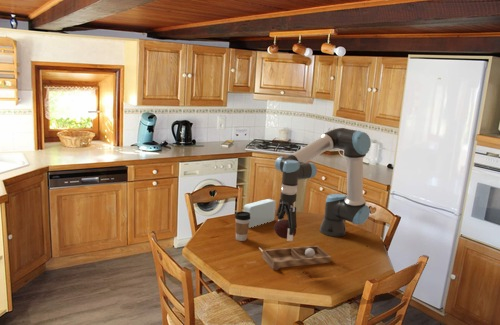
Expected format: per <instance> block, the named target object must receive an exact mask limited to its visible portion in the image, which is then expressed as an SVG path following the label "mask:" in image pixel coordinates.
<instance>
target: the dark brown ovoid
mask: <svg viewBox="0 0 500 325" xmlns="http://www.w3.org/2000/svg"><path fill="white" fill-rule="evenodd" d="M282 219H283V220H280V221H278V220H277V221H276V222H275V223H274V225H273V229H274V232H275V233H276V235H277V236H278V237H279V238H281V239H286V240H287V233H288V227H289V223H288V219H285V218H282ZM296 233H297V228H294V232H293V238H294V237H295V236H296Z"/></svg>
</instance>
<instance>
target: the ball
mask: <svg viewBox="0 0 500 325" xmlns="http://www.w3.org/2000/svg"><path fill="white" fill-rule="evenodd" d="M305 255H306V257H308V258H313V257H314V255H315V251H314V250H313V249H312V248H308V249H306V251H305Z"/></svg>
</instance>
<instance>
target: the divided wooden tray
mask: <svg viewBox="0 0 500 325" xmlns="http://www.w3.org/2000/svg"><path fill="white" fill-rule="evenodd" d="M308 248H312V249H313V250H314V251H315V255H314V257H313V258H308V257H306V255H305V251H306V249H308ZM262 250H263V253H262V252H261V253H262V254H261V259H263V261H264V262H265V263H266V264H267V265H268V266H269V267H270V268H271V270H272V271H276V270H281V268H288V267H289V268H290V267H297V266H298V267H299V266H309V265H317V264H327V263H328V264H329V263H331V260H332V257H331V255H330V254H328V253H327V252H326V251H325V250H324V249H322V248H321V247H320V246H319V245H308V246H298V247H296V246H295V247H284V248H282V247H281V248H273V249H262Z"/></svg>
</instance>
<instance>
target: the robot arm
mask: <svg viewBox="0 0 500 325" xmlns="http://www.w3.org/2000/svg"><path fill="white" fill-rule="evenodd" d="M371 143H372V142H371V138H370V136H369V134H368V133H367V132H364V131H361V130H355V129H352V128H351V129H350V128H345V127H338V128H334V129H332V130H329V131H326V132H325V133H323V134H321V135H320V136H319V138H317V139H316V140H314V141H312V142H311V143H309V144H307V145H305V146H304V147H302V148H300V149H298V150H296V151H294V152H293V153H291V154H290V155H288V156H286V157H285V156H279V157H277V158H276V159H275V162H274V168H275V169H276V170H277V171H280V172H281V173H282V178H281V186H280V188H281V189H280V191H281V192H280V198H279V203H278V207H277V210H276V213H275V216H276V217H277V222H278V221H280V220H283V219H285V215H286V216H287V220H288V223H289V227H288V233H287V239H286V241H287V242H293V240H294V237H293V232H294V228H296V229H297V225H298V224H297V207H296V206H295V207H294V203H295V202H297V193H298V184H299V180H307V179H308V180H309V179H311V178H314V177H316V175H317V172H318V168H317V166H316V164H315V163H313V162H309V161H311V160H312V159H314V158H317V157H318V156H320V155H321V154H323V153H324V152H326V151H328V152H329V151H332V150H333V149H335V150H336V149H338V150H343V156H344V158H346V191H347V192H346V194H344V193H342V194H341V193H330V194H328V195H327V196H326V200H325V207H324V208H325V209H324V215H323V220H322V222H321V224H320V226H319V232H320V233H322V234H323V235H325V236H328V237H329V236H330V237H336V238H337V237H344V236H345V235H346V232H347V230H346V225H345V221H347V222H350V223H352V224H355V225H359V226H361V225H363V224H365V222H366V221H367V220H368V219H369V217H370V212H371V210H370V207H369V205H367V204H366V199H365V198H364V195H363V194H364V158H365V157H366V154H368V153H369V151H370V149H371V146H372V144H371Z"/></svg>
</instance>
